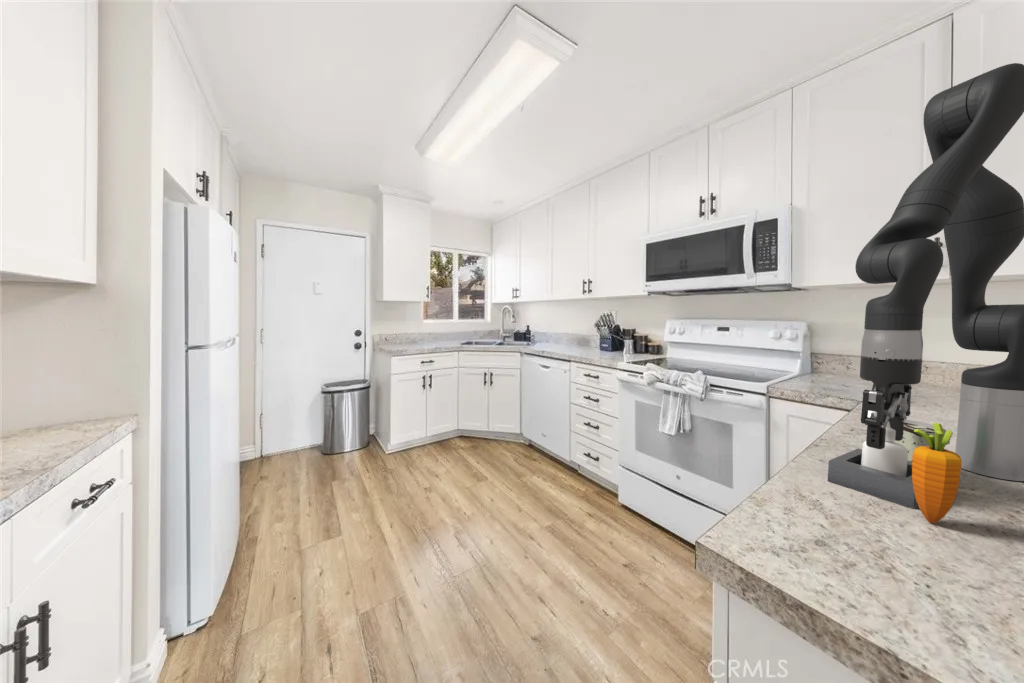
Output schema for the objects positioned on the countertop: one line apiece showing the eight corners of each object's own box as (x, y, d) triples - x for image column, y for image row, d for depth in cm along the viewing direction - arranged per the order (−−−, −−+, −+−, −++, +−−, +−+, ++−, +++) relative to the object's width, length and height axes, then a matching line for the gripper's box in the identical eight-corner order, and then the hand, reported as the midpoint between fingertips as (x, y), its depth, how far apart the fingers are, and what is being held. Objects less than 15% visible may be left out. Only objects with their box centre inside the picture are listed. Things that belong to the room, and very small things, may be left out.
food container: (969, 489, 64) (973, 434, 63) (934, 488, 64) (938, 434, 63) (896, 461, 76) (899, 415, 75) (866, 461, 76) (870, 415, 75)
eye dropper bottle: (865, 477, 68) (869, 416, 68) (908, 489, 63) (913, 423, 63) (856, 482, 66) (860, 419, 65) (900, 495, 61) (905, 427, 61)
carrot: (944, 535, 50) (953, 431, 49) (898, 516, 55) (905, 421, 54) (966, 530, 51) (975, 428, 50) (919, 512, 56) (926, 419, 55)
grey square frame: (856, 467, 73) (858, 448, 73) (938, 490, 63) (940, 468, 63) (827, 481, 67) (828, 460, 66) (913, 508, 57) (915, 484, 57)
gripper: (877, 351, 70) (872, 431, 71) (845, 355, 63) (840, 444, 64) (935, 354, 63) (928, 443, 64) (906, 359, 57) (899, 458, 58)
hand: (884, 443), depth 64 cm, fingers open, 8 cm apart
